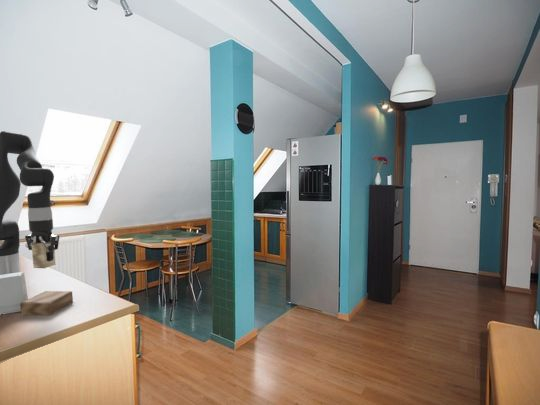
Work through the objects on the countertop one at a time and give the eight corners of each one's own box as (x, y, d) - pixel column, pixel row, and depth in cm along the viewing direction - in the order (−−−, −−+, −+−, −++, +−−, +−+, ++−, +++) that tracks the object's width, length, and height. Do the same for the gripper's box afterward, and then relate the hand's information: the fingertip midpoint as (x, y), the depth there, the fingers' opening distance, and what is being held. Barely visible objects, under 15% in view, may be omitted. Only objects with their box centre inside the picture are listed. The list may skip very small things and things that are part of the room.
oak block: (33, 267, 117) (31, 243, 116) (45, 264, 122) (43, 240, 121) (44, 268, 116) (42, 243, 115) (55, 264, 121) (53, 240, 120)
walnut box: (21, 315, 115) (19, 302, 114) (46, 302, 127) (45, 290, 126) (50, 316, 114) (49, 303, 114) (73, 302, 126) (72, 291, 125)
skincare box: (29, 305, 123) (25, 270, 122) (24, 311, 118) (21, 275, 116) (3, 309, 119) (-1, 274, 118) (-3, 316, 114) (-7, 278, 113)
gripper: (16, 219, 115) (19, 262, 116) (47, 220, 112) (51, 264, 114) (34, 217, 122) (38, 257, 124) (64, 217, 119) (67, 258, 121)
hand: (44, 260), depth 119 cm, fingers closed on oak block, 5 cm apart
